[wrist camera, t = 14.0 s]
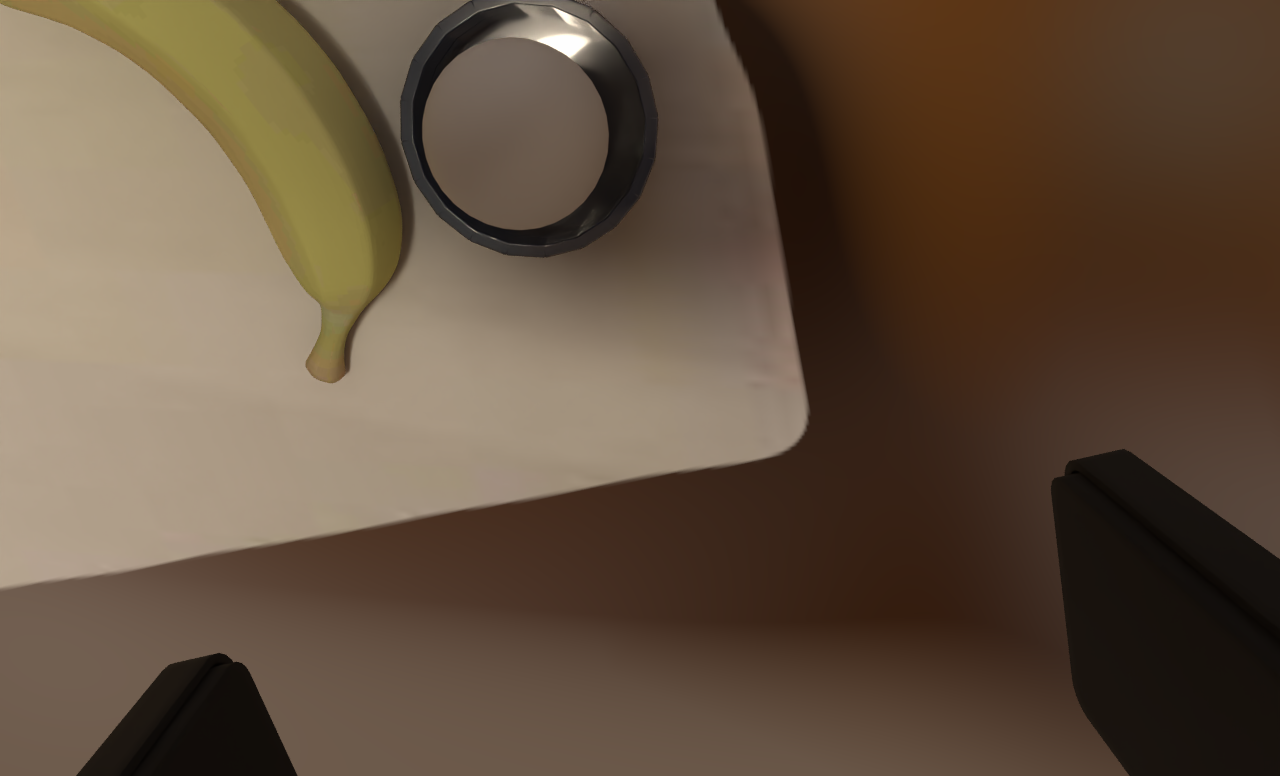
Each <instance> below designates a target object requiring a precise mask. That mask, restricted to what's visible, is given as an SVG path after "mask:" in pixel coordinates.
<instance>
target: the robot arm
mask: <svg viewBox="0 0 1280 776" xmlns="http://www.w3.org/2000/svg"><path fill="white" fill-rule="evenodd" d="M1051 495H1052V503H1053V513H1054V521H1055V530H1056V539H1057V548H1058V557H1059V566H1060V575H1061V584H1062V593H1063V601H1064V610H1065V619H1066V628H1067V636H1068V646H1069V654H1070V664H1071V673H1072V680H1073V686H1074V689H1075V693H1076V696H1077V698H1078V701H1079V704H1080V705H1081V708H1082V710H1083V712H1084V713H1085V715H1086V716H1087V718H1088V719H1089V721H1090V722H1091V724H1092V725H1093V726H1094V728H1095V729H1096V730H1097V732H1098V733H1099V734H1100V736H1101V737H1102V738H1103V740H1104V741H1105V743H1106V744H1107V745H1108V747H1109V748H1110V750H1111V751H1112V752H1113V754H1114V755H1115V756H1116V758H1117V759H1118V761H1119V762H1120V763H1121V764H1122V766H1123V767H1124V769H1125V770H1126V771H1127V773H1128V774H1129V775H1130V776H1280V559H1279V558H1277V557H1276V556H1275V555H1273V554H1272V553H1270V552H1269V551H1268V550H1266V549H1265V548H1263V547H1262V546H1261V545H1259V544H1258V543H1256V542H1255V541H1254V540H1252V539H1251V538H1249V537H1248V536H1247V535H1245V534H1244V533H1242V532H1241V531H1240V530H1238V529H1237V528H1236V527H1234V526H1233V525H1231V524H1230V523H1229V522H1227V521H1226V520H1224V519H1223V518H1221V517H1220V516H1219V515H1217V514H1216V513H1214V512H1213V511H1212V510H1210V509H1209V508H1207V507H1206V506H1205V505H1203V504H1202V503H1201V502H1199V501H1198V500H1196V499H1195V498H1194V497H1192V496H1191V495H1190V494H1188V493H1187V492H1185V491H1184V490H1183V489H1181V488H1180V487H1178V486H1177V485H1175V484H1174V483H1173V482H1171V481H1170V480H1169V479H1167V478H1166V477H1164V476H1163V475H1162V474H1160V473H1159V472H1157V471H1156V470H1155V469H1153V468H1152V467H1151V466H1149V465H1148V464H1146V463H1145V462H1143V461H1142V460H1141V459H1139V458H1138V457H1136V456H1135V455H1134V454H1132V453H1131V452H1129V451H1127V450H1125V449H1122V450H1117V451H1112V452H1108V453H1103V454H1099V455H1094V456H1090V457H1086V458H1082V459H1077V460H1072V461H1069V462H1068V464H1067V465H1066V469H1065V476H1062V477H1057V478H1054V480H1053V481H1052V485H1051ZM77 776H297V774H296V772H295V769H294V767H293V765H292V763H291V761H290V759H289V757H288V754H287V752H286V750H285V748H284V746H283V743H282V742H281V739H280V737H279V735H278V733H277V731H276V728H275V726H274V724H273V722H272V720H271V718H270V715H269V714H268V711H267V709H266V707H265V705H264V702H263V700H262V698H261V696H260V694H259V692H258V689H257V687H256V685H255V683H254V681H253V679H252V677H251V674H250V672H249V671H248V669H247V668H246V667H245V666H244V665H243V664H242V663H239V662H233V661H232V660H231V659H230V658H229V657H228V656H227V655H225V654H221V653H217V654H213V655H208V656H204V657H199V658H195V659H190V660H186V661H182V662H177V663H174V664H170V665H168V666H167V667H166V668H165V669H164V670H163V671H162V672H161V673H160V675H159V676H158V677H157V678H156V680H155V681H154V682H153V683H152V684H151V685H150V687H149V688H148V689H147V690H146V691H145V693H144V694H143V695H142V696H141V698H140V699H139V700H138V701H137V703H136V704H135V705H134V706H133V707H132V709H131V710H130V711H129V712H128V713H127V715H126V716H125V717H124V718H123V719H122V721H121V722H120V723H119V724H118V726H117V727H116V728H115V729H114V730H113V732H112V733H111V734H110V735H109V737H108V738H107V739H106V740H105V742H104V743H103V744H102V745H101V746H100V748H99V749H98V750H97V751H96V752H95V754H94V755H93V756H92V757H91V759H90V760H89V761H88V762H87V763H86V765H85V766H84V767H83V768H82V769H81V771H80V772H79V773H78V774H77Z"/></svg>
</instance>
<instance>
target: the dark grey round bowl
mask: <svg viewBox="0 0 1280 776" xmlns="http://www.w3.org/2000/svg"><path fill="white" fill-rule="evenodd" d="M507 37H513V38H525V39H531V40H534V41H537V42H541V43H544V44H547V45H549V46H551V47H553V48H555V49H556V50H558V51H560V52H562V53H564V54H565V55H567V56H568V57H569V58H570V59H571V60H573V61H574V62H575V63H576V64H577V65H579V66H580V67H581V69H582V70H583V71H584V72H585V74H586V75H587V76H588V77H589V78H590V80H591V81H592V83H593V84H594V86H595V88H596V90H597V92H598V94H599V95H600V97H601V100H602V103H603V106H604V109H605V112H606V116H607V123H608V131H609V140H608V153H607V157H606V161H605V165H604V169H603V172H602V174H601V176H600V178H599V180H598V182H597V184H596V186H595V188H594V189H593V191H592V192H591V193H590V195H589V196H588V197H587V199H586V200H585V201H584V203H582V204H581V205H580V206H579V207H578V208H577V209H576V210H574V211H573V212H572V213H571V214H569V215H568V216H566V217H564V218H563V219H561V220H559V221H557V222H556V223H553V224H550V225H547V226H544V227H540V228H535V229H527V230H513V229H503V228H499V227H496V226H492V225H489V224H486V223H484V222H482V221H480V220H478V219H476V218H474V217H472V216H469V215H468V214H467V213H465V212H464V211H463V210H461V209H460V208H459V207H457V206H456V205H455V204H454V203H453V202H452V201H451V200H450V199H449V198H448V196H447V195H446V194H445V193H444V192H443V191H442V189H441V188H440V186H439V185H438V183H437V181H436V180H435V178H434V177H433V175H432V172H431V170H430V167H429V164H428V162H427V159H426V156H425V150H424V145H423V140H422V121H423V116H424V110H425V105H426V101H427V99H428V97H429V94H430V92H431V89H432V87H433V85H434V83H435V81H436V80H437V78H438V77H439V75H440V74H441V72H442V71H443V69H444V68H445V67H446V66H447V65H448V64H449V63H450V62H451V61H452V60H453V59H455V58H456V57H457V56H458V55H459V54H461V53H462V52H464V51H466V50H467V49H469V48H471V47H472V46H474V45H477V44H480V43H483V42H485V41H488V40H491V39H499V38H507ZM400 113H401V141H402V146H403V149H404V152H405V155H406V158H407V161H408V165H409V168H410V171H411V174H412V177H413V180H414V181H415V184H416V185H417V187H418V188H419V189H420V191H421V192H422V194H423V195H424V197H425V198H426V200H427V201H428V202H429V204H430V205H431V207H432V208H433V210H434V211H435V212H436V214H437V215H438V216H439V217H440V218H441V219H443V220H444V221H445V222H446V223H448V224H449V225H450V226H451V227H453V228H454V229H455V230H456V231H458V232H459V233H460V234H461V235H463V236H464V237H465V238H467V239H468V240H470V241H471V242H474V243H476V244H479V245H481V246H484V247H486V248H489V249H492V250H494V251H497V252H499V253H502V254H504V255H506V254H507V255H509V256H524V257H539V258H545V257H551V256H555V255H559V254H563V253H567V252H571V251H574V250H578V249H582V248H584V247H586V246H587V245H589V244H590V243H592V242H594V241H595V240H597V239H598V238H600V237H601V236H603V235H605V234H606V233H608V232H609V231H611V230H612V229H614V228H615V227H616V226H617V225H618V224H619V223H620V221H621V220H622V219H623V218H624V216H625V215H626V214H627V213H628V212H629V210H630V209H631V208H632V207H633V206H634V204H635V203H636V202H637V201H638V199H639V198H640V196H641V194H642V192H643V189H644V187H645V184H646V182H647V179H648V177H649V174H650V172H651V169H652V167H653V164H654V161H655V158H656V144H657V130H658V118H657V117H658V114H657V109H656V105H655V101H654V97H653V92H652V88H651V84H650V79H649V77H648V74H647V72H646V70H645V69H644V67H643V65H642V64H641V62H640V60H639V58H638V57H637V55H636V53H635V52H634V50H633V48H632V47H631V45H630V43H629V41H628V40H627V39H626V38H625V36H624V35H623V34H621V33H620V32H619V31H618V30H617V29H616V28H615V27H614V26H612V25H611V24H610V23H609V22H608V21H607V20H606V19H605V18H604V17H602V16H601V15H600V14H599V13H598V12H597V11H596V10H593V8H591V7H588V6H586V5H584V4H581V3H579V2H577V1H575V0H472V1H469V2H467V3H466V4H464V5H463V6H462V7H460V8H459V9H457V10H456V11H455V12H453V13H452V14H450V15H449V16H447V17H446V18H445V19H443V20H442V21H440V22H439V23H438V25H436V26H435V27H434V29H433V30H432V32H431V33H430V34H429V36H428V37H427V39H426V40H425V41H424V43H423V44H422V46H421V47H420V48H419V50H418V51H417V53H416V54H415V56H414V57H413V60H412V62H411V65H410V68H409V72H408V75H407V78H406V82H405V85H404V88H403V92H402V95H401V100H400Z"/></svg>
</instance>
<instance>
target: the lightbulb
mask: <svg viewBox="0 0 1280 776" xmlns="http://www.w3.org/2000/svg"><path fill="white" fill-rule="evenodd" d="M422 140H423V145H424V150H425V156H426V159H427V162H428V164H429V167H430V170H431V172H432V175H433V177H434V178H435V180H436V181H437V183H438V185H439V186H440V188H441V189H442V191H443V192H444V193H445V194H446V195H447V196H448V198H449V199H450V200H451V201H452V202H453V203H454V204H455V205H456V206H457V207H459V208H460V209H461V210H463V211H464V212H465V213H467V214H468V215H469V216H472V217H474V218H476V219H478V220H480V221H482V222H484V223H486V224H489V225H492V226H496V227H499V228H503V229H513V230H527V229H535V228H540V227H544V226H547V225H550V224H553V223H556V222H557V221H559V220H561V219H563V218H564V217H566V216H568V215H569V214H571V213H572V212H573V211H574V210H576V209H577V208H578V207H579V206H580V205H581V204H582V203H584V201H585V200H586V199H587V197H588V196H589V195H590V193H591V192H592V191H593V189H594V188H595V186H596V184H597V182H598V180H599V178H600V176H601V174H602V172H603V169H604V165H605V161H606V157H607V153H608V140H609V131H608V123H607V116H606V112H605V109H604V106H603V103H602V100H601V97H600V95H599V94H598V92H597V90H596V88H595V86H594V84H593V83H592V81H591V80H590V78H589V77H588V76H587V75H586V74H585V72H584V71H583V70H582V69H581V67H580V66H579V65H577V64H576V63H575V62H574V61H573V60H571V59H570V58H569V57H568V56H567V55H565V54H564V53H562V52H560V51H558V50H556V49H555V48H553V47H551V46H549V45H547V44H544V43H541V42H537V41H534V40H531V39H525V38H513V37H507V38H499V39H491V40H488V41H485V42H483V43H480V44H477V45H474V46H472V47H471V48H469V49H467V50H466V51H464V52H462V53H461V54H459V55H458V56H457V57H456V58H455V59H453V60H452V61H451V62H450V63H449V64H448V65H447V66H446V67H445V68H444V69H443V71H442V72H441V74H440V75H439V77H438V78H437V80H436V81H435V83H434V85H433V87H432V89H431V92H430V94H429V97H428V99H427V101H426V105H425V110H424V116H423V121H422Z"/></svg>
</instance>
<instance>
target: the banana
mask: <svg viewBox="0 0 1280 776" xmlns="http://www.w3.org/2000/svg"><path fill="white" fill-rule="evenodd" d="M0 3H1V4H3V5H5V6H8V7H11V8H14V9H17V10H20V11H24V12H27V13H31V14H34V15H38V16H41V17H44V18H47V19H50V20H53V21H56V22H59V23H62V24H65V25H68V26H70V27H73V28H75V29H77V30H79V31H81V32H83V33H85V34H87V35H89V36H91V37H93V38H95V39H97V40H99V41H101V42H102V43H104V44H106V45H108V46H110V47H111V48H113V49H115V50H117V51H118V52H120V53H121V54H123V55H124V56H126V57H127V58H129V59H130V60H132V61H133V62H134V63H136V64H137V65H138V66H140V67H141V68H143V69H144V70H145V71H147V72H148V73H149V74H150V75H152V76H153V77H154V78H155V79H156V80H158V81H159V82H160V83H161V84H162V85H163V86H164V87H165V88H166V89H167V90H168V91H170V92H171V93H172V94H173V95H174V96H175V97H176V98H177V99H178V100H179V101H180V102H181V103H182V104H183V105H184V106H185V107H186V108H187V109H188V110H189V111H190V112H191V113H192V114H193V115H194V116H195V117H196V118H197V119H198V120H199V121H200V122H201V123H202V124H203V125H204V127H205V128H206V129H207V130H208V131H209V132H210V134H211V135H212V136H213V137H214V138H215V140H216V141H217V142H218V144H219V145H220V146H221V148H222V149H223V151H224V152H225V153H226V155H227V156H228V158H229V159H230V160H231V162H232V163H233V165H234V166H235V168H236V169H237V170H238V172H239V173H240V175H241V176H242V178H243V180H244V181H245V183H246V184H247V186H248V188H249V189H250V191H251V193H252V195H253V197H254V199H255V201H256V203H257V205H258V206H259V208H260V211H261V213H262V215H263V217H264V219H265V221H266V223H267V225H268V227H269V229H270V231H271V233H272V236H273V238H274V240H275V242H276V244H277V246H278V248H279V250H280V252H281V253H282V255H283V257H284V259H285V261H286V262H287V264H288V266H289V267H290V269H291V270H292V272H293V274H294V275H295V277H296V278H297V280H298V281H299V283H300V284H301V285H302V287H303V288H304V289H305V291H306V292H307V293H308V294H309V295H310V296H311V297H313V298H314V299H315V300H316V301H317V302H319V304H320V305H321V311H322V327H321V332H320V335H319V338H318V340H317V342H316V344H315V346H314V348H313V350H312V352H311V354H310V355H309V357H308V359H307V360H306V368H307V370H308V371H309V373H310V374H311V375H312V376H313V377H314V378H316V379H318V380H320V381H323V382H327V383H335V382H337V381H339V380H340V379H341V378H342V377H343V376H344V375H345V362H344V349H345V342H346V338H347V335H348V333H349V331H350V329H351V327H352V326H353V324H354V322H355V321H356V319H357V318H358V316H359V315H360V313H361V312H362V310H363V309H364V308H365V307H366V306H367V305H368V304H369V303H370V302H371V301H372V300H373V299H374V298H375V297H376V296H377V295H378V294H379V293H380V292H381V291H382V289H383V288H384V287H385V286H386V284H387V283H388V281H389V280H390V278H391V277H392V275H393V273H394V271H395V269H396V267H397V264H398V261H399V256H400V251H401V243H402V215H401V208H400V203H399V198H398V194H397V190H396V187H395V184H394V181H393V177H392V174H391V171H390V169H389V166H388V163H387V160H386V158H385V155H384V153H383V150H382V148H381V146H380V143H379V141H378V139H377V137H376V134H375V132H374V130H373V129H372V127H371V125H370V123H369V121H368V119H367V117H366V115H365V114H364V112H363V110H362V108H361V107H360V105H359V103H358V101H357V100H356V98H355V96H354V95H353V93H352V91H351V90H350V88H349V87H348V85H347V83H346V82H345V80H344V79H343V77H342V76H341V74H340V73H339V71H338V70H337V68H336V67H335V65H334V64H333V63H332V61H331V60H330V59H329V57H328V56H327V55H326V54H325V52H324V51H323V50H322V49H321V48H320V46H319V45H318V44H317V43H316V42H315V40H314V39H313V38H312V37H311V36H310V35H309V33H308V32H307V31H306V30H305V29H304V28H303V27H302V26H301V25H300V24H299V23H298V22H297V20H296V19H295V18H294V17H293V16H292V15H291V14H290V13H289V12H287V11H286V10H285V9H284V8H283V7H282V6H281V5H280V4H279V3H278V2H277V1H276V0H0Z"/></svg>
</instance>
